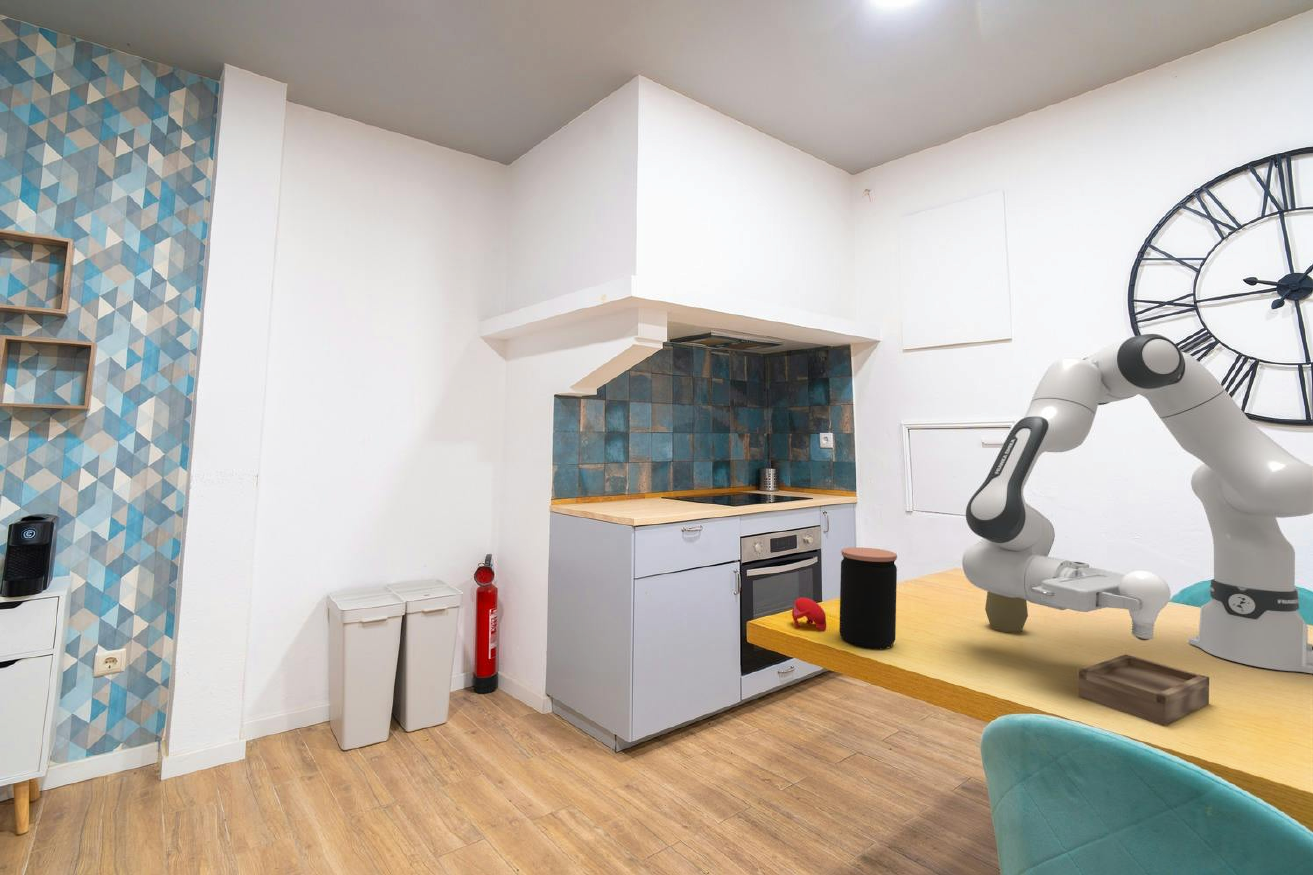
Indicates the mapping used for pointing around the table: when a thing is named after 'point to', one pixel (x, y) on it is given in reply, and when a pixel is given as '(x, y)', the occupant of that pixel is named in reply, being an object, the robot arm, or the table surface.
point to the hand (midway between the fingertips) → (1150, 602)
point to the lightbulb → (1145, 600)
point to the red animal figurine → (809, 613)
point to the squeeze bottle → (1006, 612)
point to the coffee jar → (868, 597)
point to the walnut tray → (1144, 688)
